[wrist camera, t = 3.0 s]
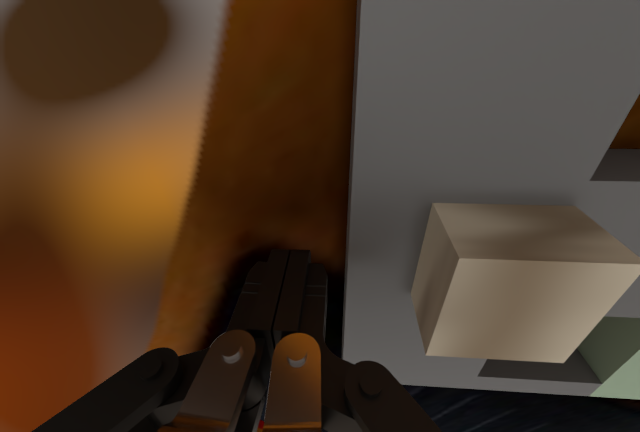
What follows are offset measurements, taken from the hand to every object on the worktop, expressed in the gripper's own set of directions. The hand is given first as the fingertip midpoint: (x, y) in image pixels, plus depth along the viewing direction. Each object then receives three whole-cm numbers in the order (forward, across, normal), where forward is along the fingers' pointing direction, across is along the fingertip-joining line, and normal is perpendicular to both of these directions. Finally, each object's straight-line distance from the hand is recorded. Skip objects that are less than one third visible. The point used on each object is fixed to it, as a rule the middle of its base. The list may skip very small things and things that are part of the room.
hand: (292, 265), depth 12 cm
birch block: (+1, -8, 0) cm, 8 cm away
